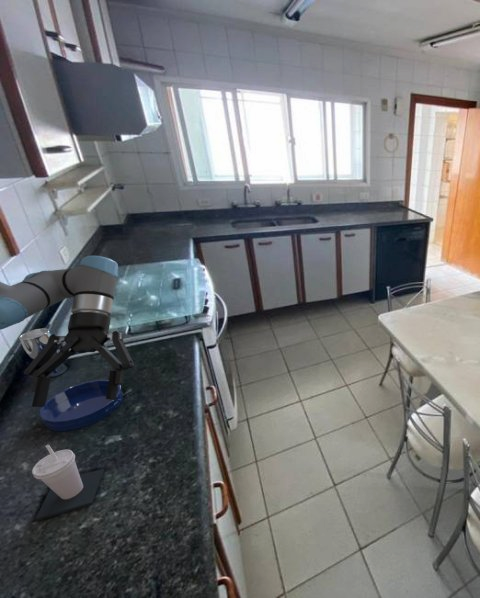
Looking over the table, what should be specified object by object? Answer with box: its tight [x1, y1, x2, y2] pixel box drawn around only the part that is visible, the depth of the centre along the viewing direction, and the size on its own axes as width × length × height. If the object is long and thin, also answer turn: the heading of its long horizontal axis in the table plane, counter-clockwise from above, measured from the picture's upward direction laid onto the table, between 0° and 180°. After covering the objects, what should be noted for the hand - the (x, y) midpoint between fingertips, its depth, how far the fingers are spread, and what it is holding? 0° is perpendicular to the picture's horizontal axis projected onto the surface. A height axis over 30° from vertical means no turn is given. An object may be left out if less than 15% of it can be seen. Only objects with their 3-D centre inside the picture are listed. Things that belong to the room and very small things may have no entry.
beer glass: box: [18, 327, 68, 379], centre depth 105 cm, size 7×7×15 cm
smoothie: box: [31, 444, 83, 499], centre depth 70 cm, size 6×6×14 cm
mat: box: [35, 468, 105, 522], centre depth 73 cm, size 9×9×1 cm
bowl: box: [39, 379, 124, 432], centre depth 95 cm, size 17×17×4 cm
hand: (75, 403), depth 76 cm, fingers open, 13 cm apart
